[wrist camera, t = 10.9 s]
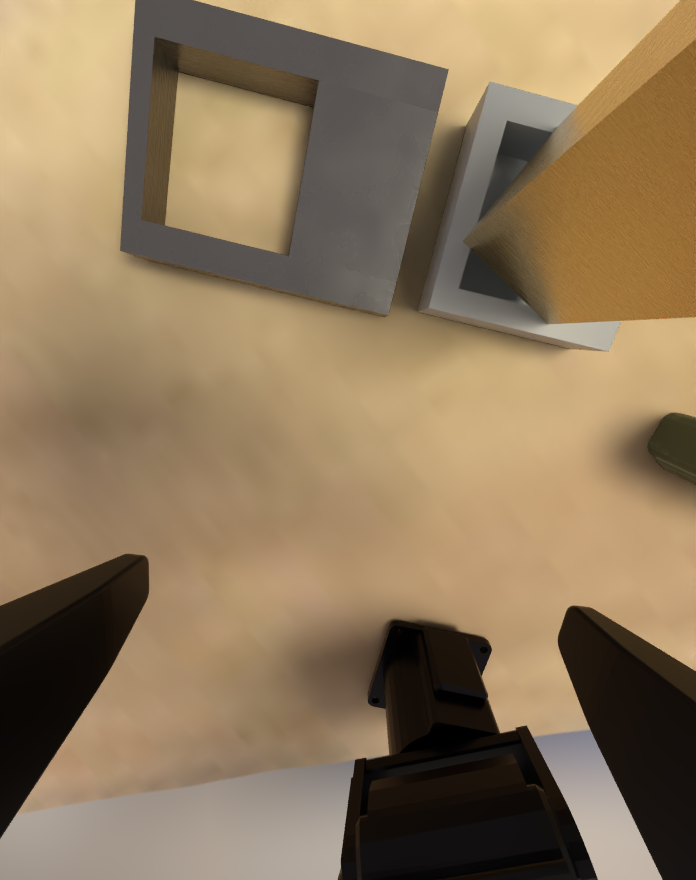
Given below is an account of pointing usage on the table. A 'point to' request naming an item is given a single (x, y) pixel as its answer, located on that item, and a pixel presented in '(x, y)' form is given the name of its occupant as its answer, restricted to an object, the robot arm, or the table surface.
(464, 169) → the parts tray
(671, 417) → the handheld radio
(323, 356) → the table surface
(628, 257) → the brass tower with button
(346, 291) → the grey holder tray
